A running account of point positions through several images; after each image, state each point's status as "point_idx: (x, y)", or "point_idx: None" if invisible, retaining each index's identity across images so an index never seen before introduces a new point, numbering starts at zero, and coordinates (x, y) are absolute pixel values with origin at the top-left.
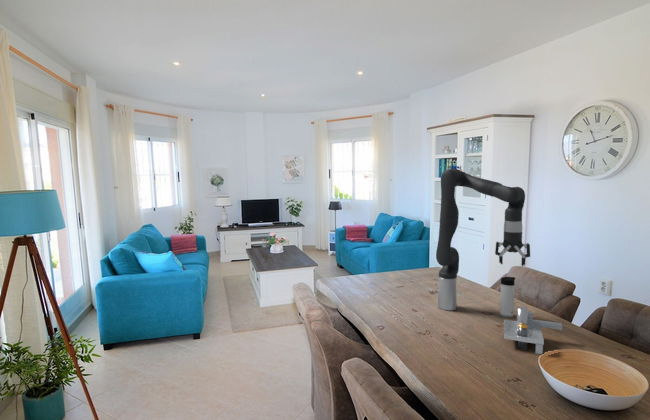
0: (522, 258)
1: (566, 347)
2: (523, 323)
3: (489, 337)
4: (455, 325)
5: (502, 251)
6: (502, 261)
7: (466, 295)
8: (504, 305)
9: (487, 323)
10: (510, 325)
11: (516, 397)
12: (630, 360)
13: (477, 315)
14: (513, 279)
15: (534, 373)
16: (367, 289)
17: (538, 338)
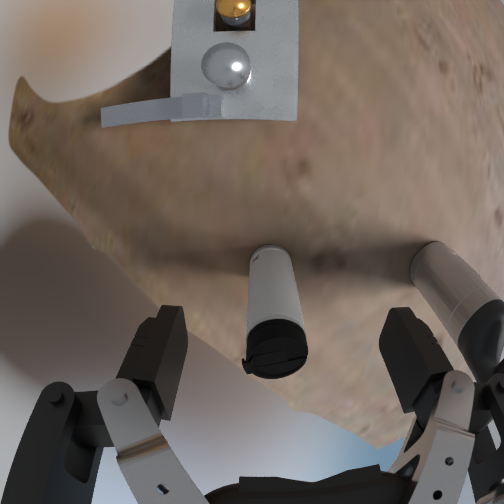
0: (147, 378)
1: (121, 88)
2: (230, 12)
3: (334, 66)
4: (426, 133)
5: (465, 440)
6: (407, 328)
7: (361, 361)
8: (283, 266)
9: (337, 175)
10: (274, 69)
11: None
12: (25, 101)
13: (360, 233)
14: (252, 350)
15: None
16: None
17: (188, 3)
